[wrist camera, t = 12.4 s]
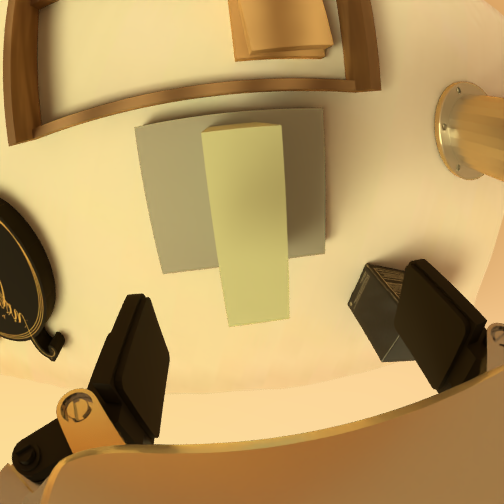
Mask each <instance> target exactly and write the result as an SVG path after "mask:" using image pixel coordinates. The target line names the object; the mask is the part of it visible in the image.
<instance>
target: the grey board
mask: <svg viewBox="0 0 504 504" xmlns="http://www.w3.org/2000/svg"><path fill="white" fill-rule="evenodd" d="M251 122H260V123H269V124H277V125H281V126H282V141H283V156H284V173H285V192H286V213H287V239H288V258H296V257H303V256H311V255H319V254H325V227H326V174H325V138H324V117H323V108H287V109H266V110H251V111H239V112H229V113H220V114H211V115H203V116H196V117H189V118H183V119H176V120H170V121H165V122H159V123H154V124H149V125H144V126H139V127H134V128H135V135H136V142H137V149H138V156H139V162H140V168H141V174H142V180H143V185H144V191H145V196H146V201H147V206H148V211H149V216H150V221H151V225H152V230H153V235H154V239H155V243H156V248H157V252H158V256H159V260H160V264H161V268H162V272H163V274H167V273H176V272H184V271H193V270H201V269H209V268H217V267H219V263H218V257H217V250H216V243H215V237H214V230H213V223H212V216H211V208H210V201H209V193H208V186H207V178H206V170H205V162H204V154H203V146H202V137H201V132H203V131H204V130H205V129H206V128H207V127H212V126H220V125H229V124H239V123H251Z"/></svg>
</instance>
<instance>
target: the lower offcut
mask: <svg viewBox="0 0 504 504" xmlns="http://www.w3.org/2000/svg"><path fill="white" fill-rule="evenodd" d="M228 5H229V14H230V22H231V31H232V39H233V48H234V57H235V62H237V61H249V60H264V59H321V58H323V57H325V50H324V49H311V50H296V51H284V52H275V53H266V54H258V55H251V56H249V52H248V48H247V43H246V39H245V34H244V30H243V26H242V21H241V17H240V13H239V9H238V5H237V0H228Z"/></svg>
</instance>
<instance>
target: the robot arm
mask: <svg viewBox="0 0 504 504" xmlns="http://www.w3.org/2000/svg"><path fill="white" fill-rule="evenodd" d="M435 138H436V142H437V147H438V150H439V153H440V156H441V158H442V160H443V162H444V164H445V165H446V166H447V168H448V169H449V170H450V171H451V172H452V173H453V174H454V175H456V176H458V177H460V178H463V179H466V180H474V179H478V178H480V177H481V176H483V175H484V174H486V175H488V176H491V177H493V178H496V179H498V180H501V181H503V182H504V98H501V97H493V96H487V95H486V93H485V92H484V91H483V90H482V89H481V88H479V87H478V86H477V85H475V84H473V83H469V82H457V83H453V84H452V85H450V86H449V87H447V88H446V90H445V91H444V92H443V93H442V95H441V97H440V99H439V102H438V105H437V108H436V114H435ZM486 322H487V320H486V319H485V318H484V317H483V316H482V315H481V313H480V312H479V311H478V310H477V309H476V308H475V307H474V306H473V305H472V304H471V303H470V302H469V301H468V300H467V299H466V298H465V297H464V296H463V295H462V294H461V293H460V292H459V291H458V290H457V289H456V288H455V287H454V286H453V285H452V284H451V283H450V282H449V281H448V280H447V279H446V278H445V277H444V276H443V275H441V274H440V273H439V272H438V271H437V270H436V269H435V268H434V267H433V266H432V265H431V264H430V263H428V262H427V261H426V260H425V259H420V260H414V261H411V262H410V263H409V265H408V266H407V267H406V269H405V274H404V279H403V284H402V288H401V293H400V297H399V302H398V306H397V310H396V314H395V318H394V327H395V329H396V331H397V332H398V334H399V336H400V337H401V339H402V340H403V342H404V343H405V345H406V346H407V348H408V349H409V351H410V352H411V354H412V356H413V357H414V359H415V360H416V362H417V363H418V365H419V367H420V368H421V370H422V372H423V373H424V375H425V377H426V378H427V380H428V382H429V383H430V384H431V386H432V388H433V389H436V390H437V392H438V393H439V394H436V395H434V396H431V397H429V398H427V399H424V400H421V401H419V402H416V403H413V404H411V405H407V406H405V407H402V408H399V409H396V410H393V411H390V412H386V413H383V414H380V415H377V416H373V417H370V418H366V419H363V420H359V421H355V422H351V423H348V424H344V425H340V426H335V427H331V428H326V429H322V430H317V431H312V432H307V433H301V434H295V435H289V436H282V437H276V438H269V439H261V440H251V441H241V442H228V443H212V444H186V445H160V444H157V445H156V444H154V438H158V437H159V433H160V425H161V417H162V409H163V402H164V395H165V388H166V381H167V374H168V368H169V361H170V357H169V352H168V349H167V346H166V344H165V341H164V338H163V335H162V332H161V329H160V327H159V324H158V321H157V318H156V315H155V312H154V309H153V306H152V302H151V300H150V298H149V297H145V295H144V294H131V295H127V296H126V299H125V301H124V303H123V305H122V308H121V310H120V312H119V314H118V317H117V319H116V321H115V324H114V326H113V329H112V331H111V333H109V334H108V336H107V338H106V341H105V343H104V345H103V348H102V350H101V353H100V356H99V358H98V361H97V363H96V366H95V369H94V371H93V374H92V377H91V379H90V382H89V385H88V388H87V389H83V388H80V389H74V390H71V391H69V392H68V393H66V394H65V395H64V396H63V397H62V398H61V399H60V401H59V403H58V405H57V410H56V413H57V419H55V420H53V421H52V422H50V423H49V424H47V425H45V426H44V427H42V428H40V429H39V430H37V431H35V432H34V433H32V434H31V435H29V436H28V437H26V438H24V439H22V440H21V441H20V442H19V443H17V445H16V446H15V448H14V450H13V453H12V462H13V464H12V465H10V464H8V463H7V465H6V466H5V467H4V468H3V469H2V470H1V472H0V504H504V324H502V323H494V324H491V325H490V326H489V327H488V329H487V330H486V329H485V327H484V326H485V324H486Z"/></svg>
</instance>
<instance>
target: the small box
mask: <svg viewBox="0 0 504 504" xmlns="http://www.w3.org/2000/svg"><path fill="white" fill-rule="evenodd" d="M404 274H405V271H401V270H396V269H391V268H386V267H382V266H376V265H371V264H366V265H365V267H364V269H363V272H362V274H361V276H360V279H359V281H358V283H357V285H356V287H355V289H354V292H353V293H352V295H351V298H350V300H349V302H348V306H349V307H350V309H351V311H352V312H353V314H354V316H355V317H356V319H357V321H358V322H359V324H360V325H361V327H362V329H363V331H364V332H365V334H366V336H367V337H368V339H369V341H370V342H371V344H372V346H373V348H374V349H375V351H376V353H377V354H378V356H379V358H380V360H381V362H397V361H414V360H415V359H414V357H413V356H412V354H411V352H410V351H409V349H408V348H407V346H406V345H405V343H404V342H403V340H402V339H401V337H400V336H399V334H398V332H397V331H396V329H395V327H394V318H395V314H396V310H397V306H398V302H399V297H400V293H401V288H402V284H403V279H404Z"/></svg>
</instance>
